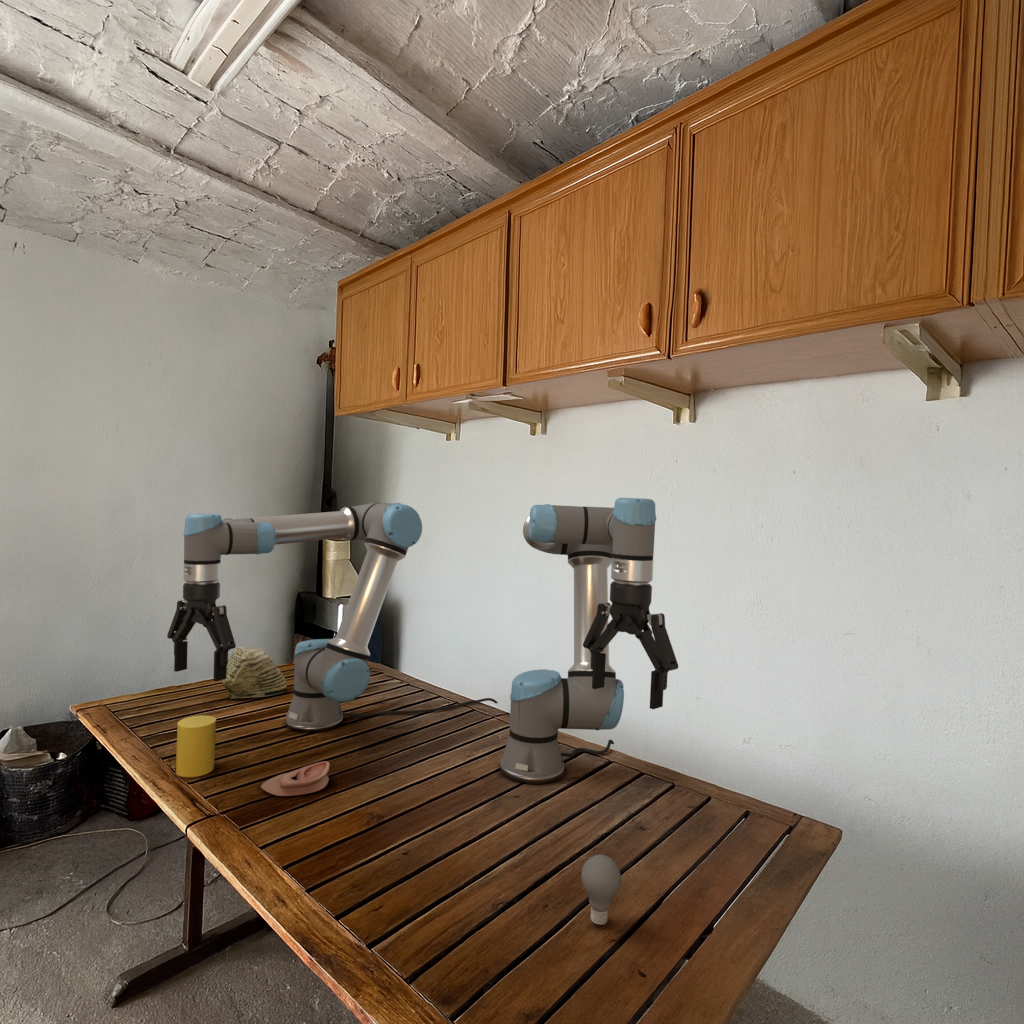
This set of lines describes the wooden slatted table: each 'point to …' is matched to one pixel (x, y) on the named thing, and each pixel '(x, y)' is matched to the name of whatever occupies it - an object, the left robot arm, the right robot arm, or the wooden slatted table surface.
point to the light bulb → (600, 885)
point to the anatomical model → (299, 780)
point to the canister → (195, 746)
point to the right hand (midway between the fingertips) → (625, 697)
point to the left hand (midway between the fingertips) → (199, 675)
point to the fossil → (253, 674)
